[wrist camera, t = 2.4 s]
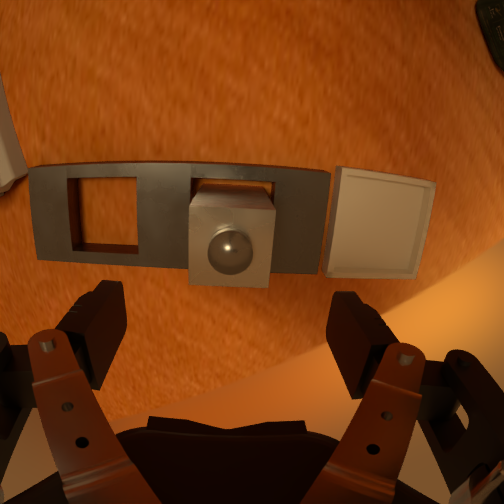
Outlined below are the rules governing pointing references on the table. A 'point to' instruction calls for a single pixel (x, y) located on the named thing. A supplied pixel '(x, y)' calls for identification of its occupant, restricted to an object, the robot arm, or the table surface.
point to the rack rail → (175, 211)
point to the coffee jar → (493, 27)
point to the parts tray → (377, 224)
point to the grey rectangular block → (231, 236)
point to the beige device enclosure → (9, 148)
